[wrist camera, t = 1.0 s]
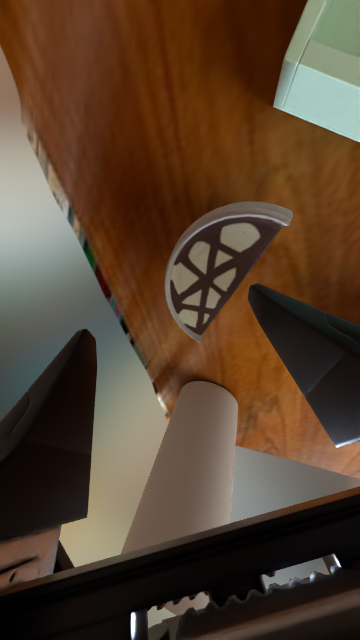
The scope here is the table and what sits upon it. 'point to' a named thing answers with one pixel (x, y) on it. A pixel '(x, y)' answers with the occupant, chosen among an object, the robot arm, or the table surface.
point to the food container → (218, 260)
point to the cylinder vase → (189, 475)
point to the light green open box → (324, 67)
